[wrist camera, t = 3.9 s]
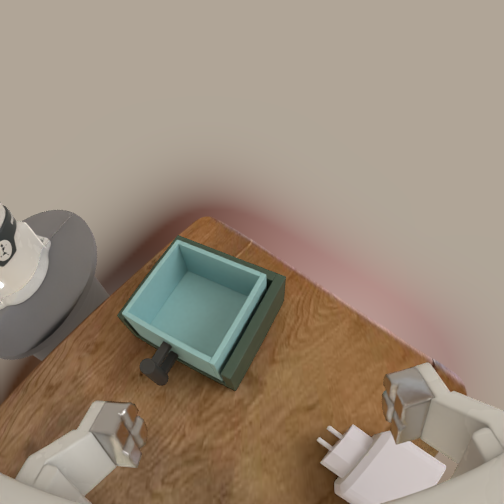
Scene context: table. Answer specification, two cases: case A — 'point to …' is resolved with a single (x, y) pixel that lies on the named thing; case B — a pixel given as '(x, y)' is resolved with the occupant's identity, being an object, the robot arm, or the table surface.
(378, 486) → the charger
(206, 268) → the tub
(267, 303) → the dark green bin
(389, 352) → the table surface
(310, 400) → the table surface
